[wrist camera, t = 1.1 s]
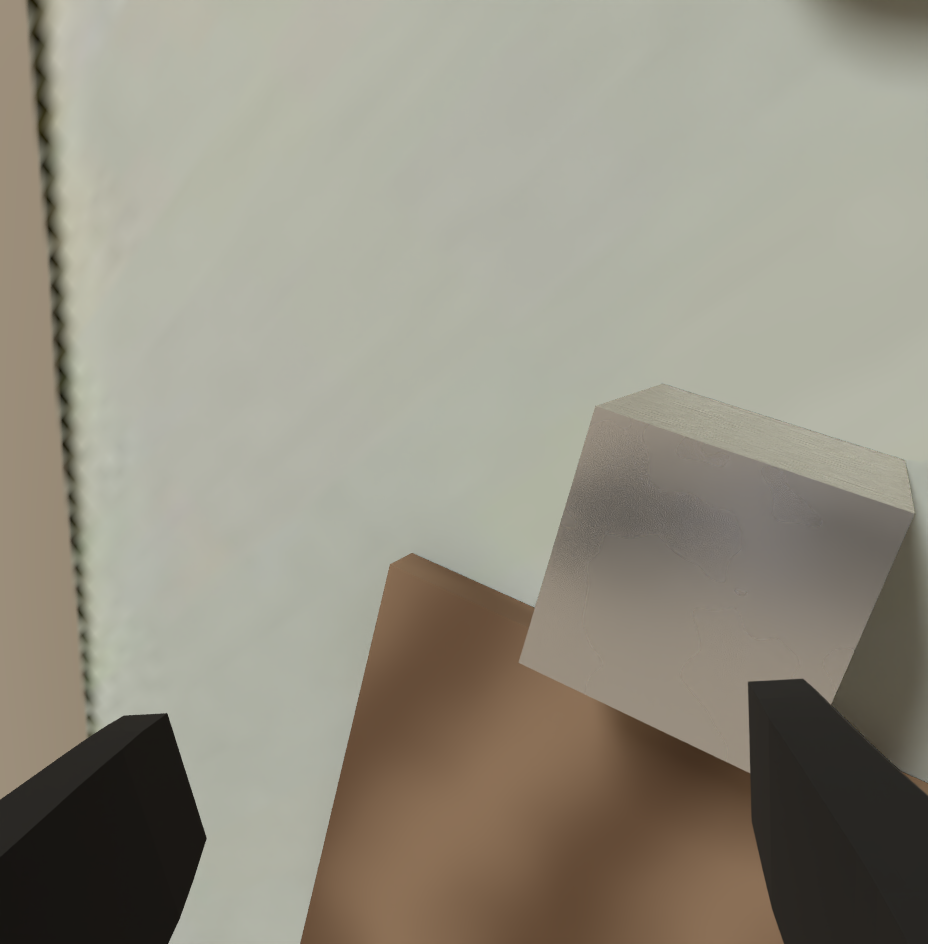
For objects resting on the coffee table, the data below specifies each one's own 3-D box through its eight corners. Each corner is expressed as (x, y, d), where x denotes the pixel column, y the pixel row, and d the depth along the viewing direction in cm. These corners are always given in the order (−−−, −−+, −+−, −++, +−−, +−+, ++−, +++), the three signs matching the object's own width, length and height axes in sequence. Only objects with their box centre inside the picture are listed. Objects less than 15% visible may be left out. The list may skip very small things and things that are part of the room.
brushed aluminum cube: (904, 460, 18) (915, 513, 13) (813, 676, 19) (791, 793, 15) (663, 383, 20) (595, 405, 15) (597, 585, 21) (518, 662, 17)
